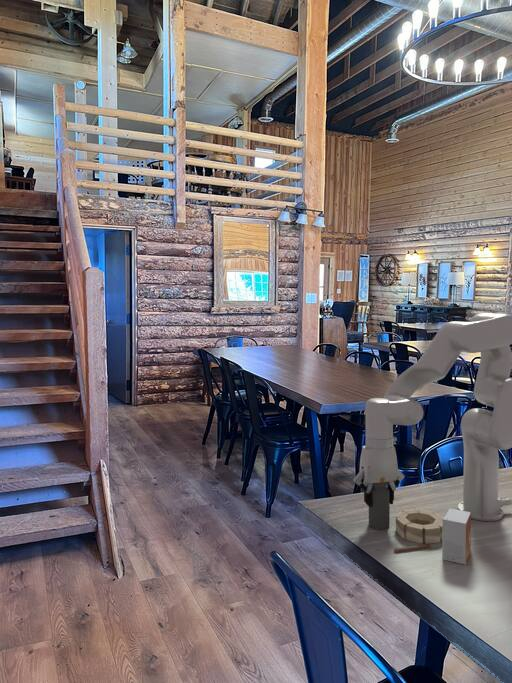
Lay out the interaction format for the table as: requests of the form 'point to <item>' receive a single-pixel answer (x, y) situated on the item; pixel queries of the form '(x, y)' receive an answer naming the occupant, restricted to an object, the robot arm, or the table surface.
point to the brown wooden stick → (412, 548)
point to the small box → (456, 536)
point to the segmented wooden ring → (419, 526)
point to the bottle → (380, 506)
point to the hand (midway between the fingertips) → (379, 503)
